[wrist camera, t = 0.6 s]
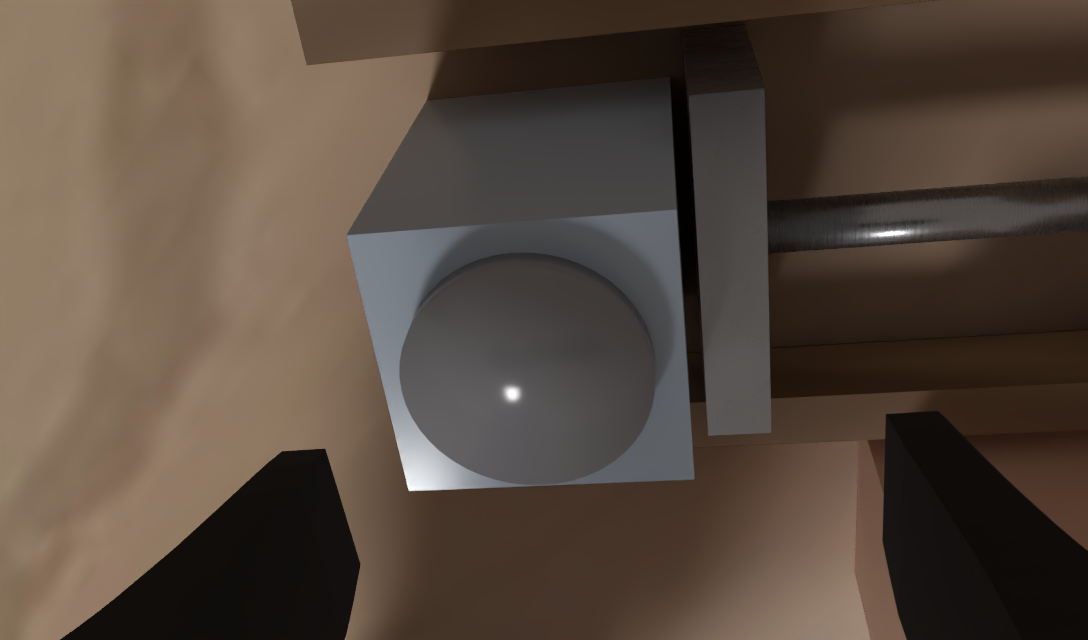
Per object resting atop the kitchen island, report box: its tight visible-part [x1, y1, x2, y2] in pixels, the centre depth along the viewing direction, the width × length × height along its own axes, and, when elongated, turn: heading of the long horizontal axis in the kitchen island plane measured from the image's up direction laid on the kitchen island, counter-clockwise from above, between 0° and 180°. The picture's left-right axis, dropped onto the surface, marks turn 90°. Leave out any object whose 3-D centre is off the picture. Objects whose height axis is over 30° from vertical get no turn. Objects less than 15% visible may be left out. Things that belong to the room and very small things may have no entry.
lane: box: [291, 0, 1088, 448], centre depth 20 cm, size 10×18×4 cm, turn 97°
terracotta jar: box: [854, 430, 1088, 640], centre depth 22 cm, size 5×5×7 cm
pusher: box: [682, 25, 1088, 436], centre depth 19 cm, size 7×8×4 cm
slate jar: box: [346, 77, 695, 491], centre depth 19 cm, size 5×5×7 cm
